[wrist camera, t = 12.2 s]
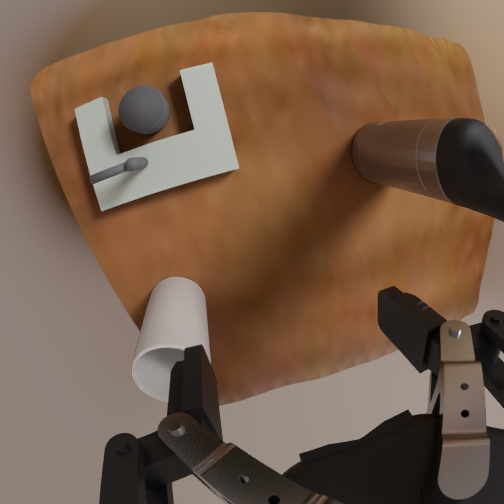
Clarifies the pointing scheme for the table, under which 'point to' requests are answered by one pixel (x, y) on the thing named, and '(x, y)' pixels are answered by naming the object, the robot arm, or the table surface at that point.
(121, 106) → the grooved grey cylinder
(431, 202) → the table surface
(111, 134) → the board
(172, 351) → the cup
